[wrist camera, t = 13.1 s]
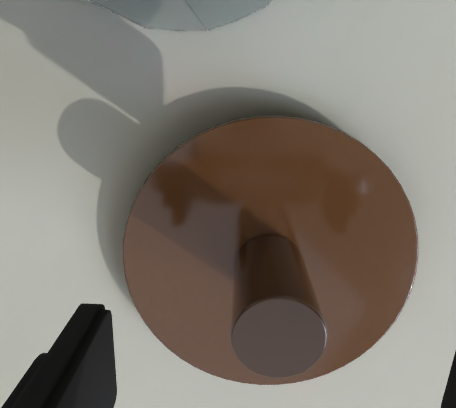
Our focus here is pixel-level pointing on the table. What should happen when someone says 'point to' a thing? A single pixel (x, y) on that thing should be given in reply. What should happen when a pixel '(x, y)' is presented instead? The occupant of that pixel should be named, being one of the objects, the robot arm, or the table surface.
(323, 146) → the lid
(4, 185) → the table surface
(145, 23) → the canister
